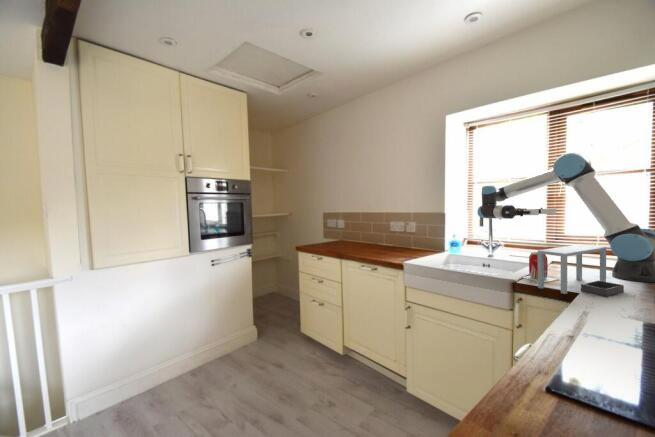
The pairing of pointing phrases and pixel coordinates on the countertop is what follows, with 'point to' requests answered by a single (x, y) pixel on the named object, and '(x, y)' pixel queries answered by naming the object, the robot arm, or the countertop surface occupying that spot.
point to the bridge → (565, 252)
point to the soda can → (534, 265)
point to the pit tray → (602, 288)
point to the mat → (544, 279)
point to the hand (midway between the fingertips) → (547, 211)
